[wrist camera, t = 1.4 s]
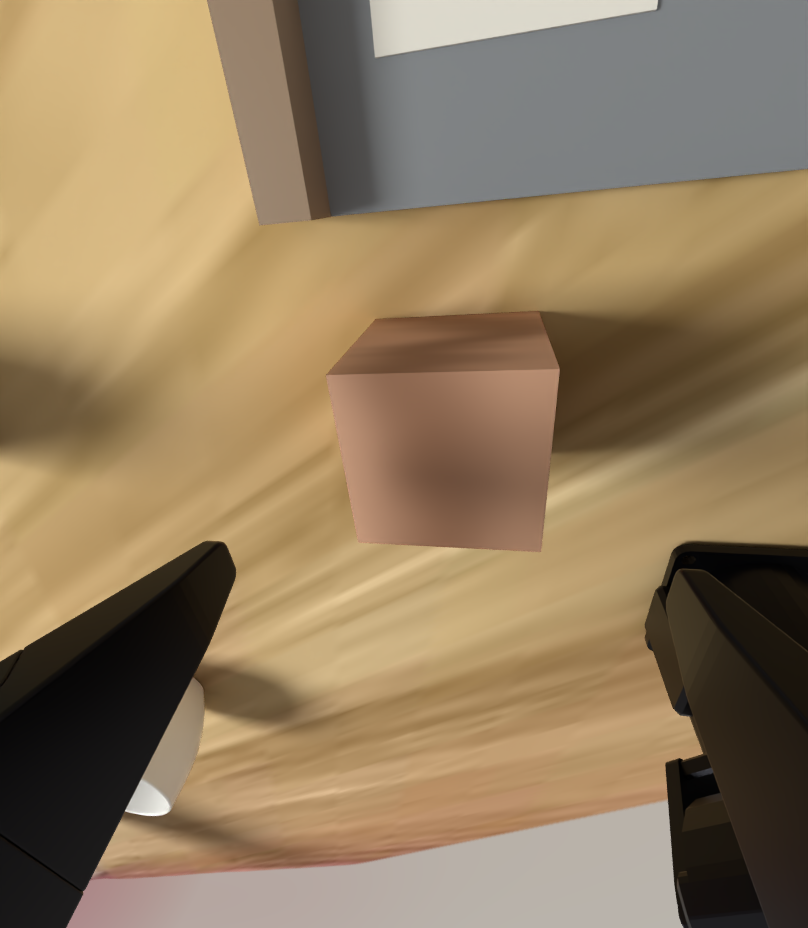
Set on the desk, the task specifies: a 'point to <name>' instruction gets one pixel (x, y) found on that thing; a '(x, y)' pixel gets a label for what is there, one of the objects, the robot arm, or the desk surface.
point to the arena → (506, 97)
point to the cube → (448, 430)
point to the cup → (172, 757)
